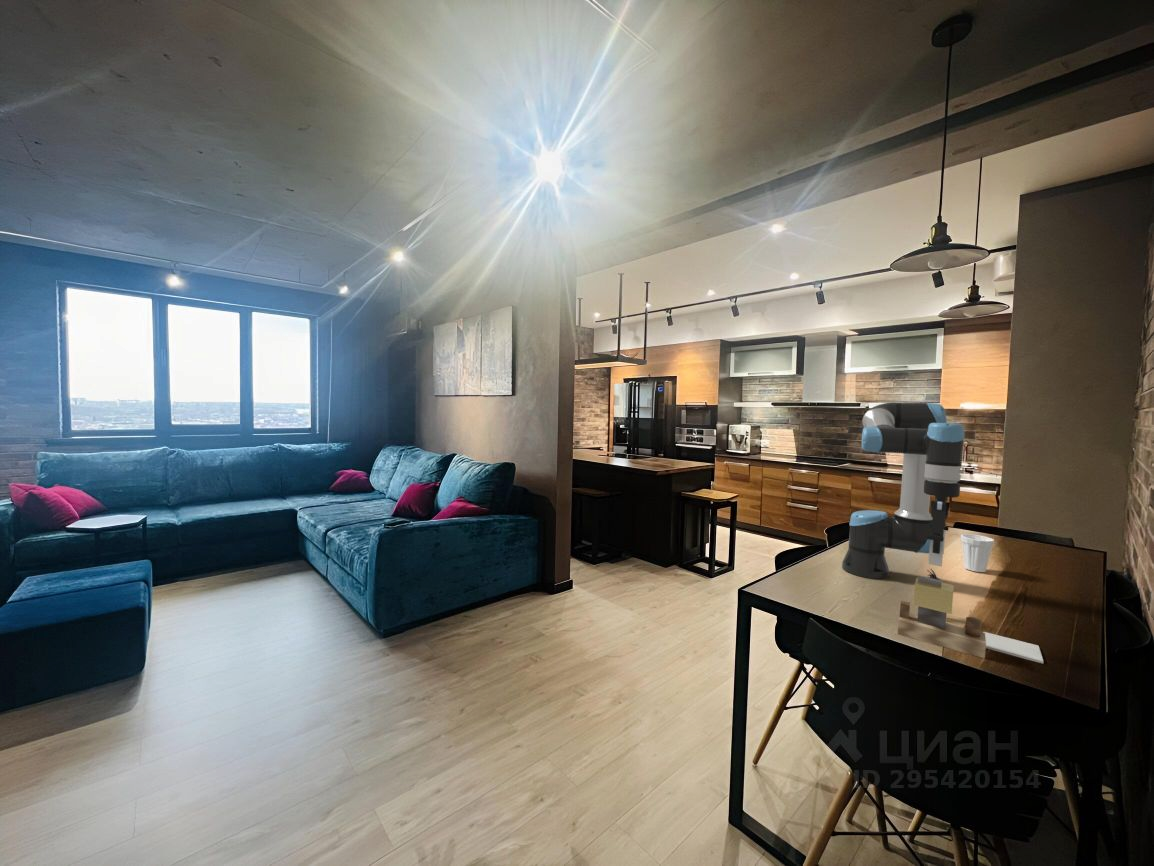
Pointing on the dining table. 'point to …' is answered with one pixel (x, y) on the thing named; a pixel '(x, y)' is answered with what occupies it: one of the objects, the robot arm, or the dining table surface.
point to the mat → (1013, 647)
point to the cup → (976, 551)
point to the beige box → (933, 594)
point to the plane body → (942, 630)
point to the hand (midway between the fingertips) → (936, 558)
